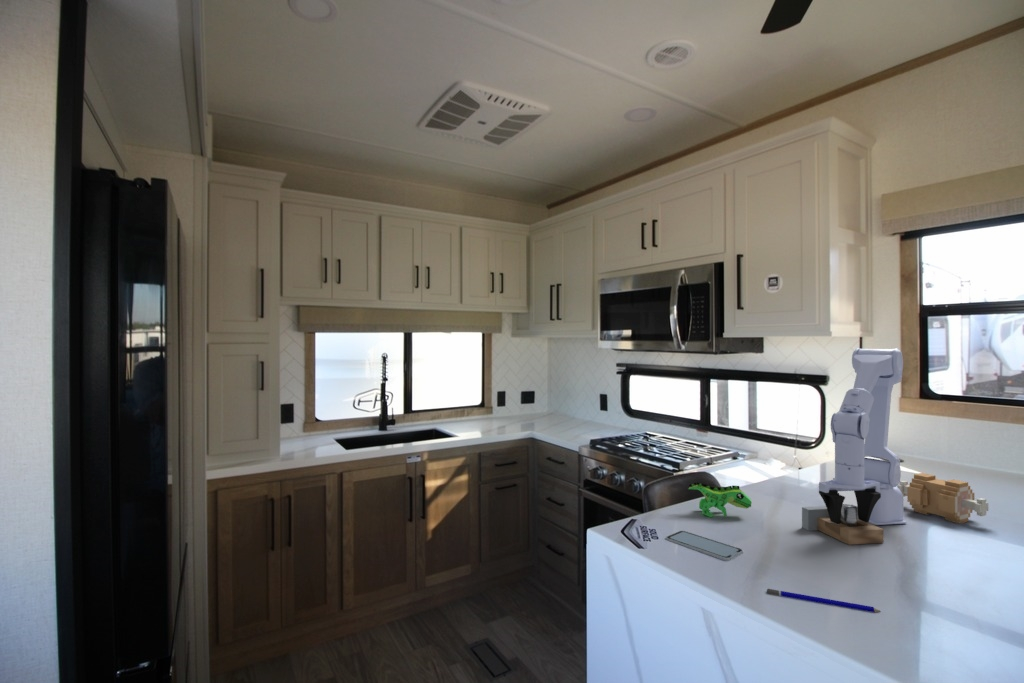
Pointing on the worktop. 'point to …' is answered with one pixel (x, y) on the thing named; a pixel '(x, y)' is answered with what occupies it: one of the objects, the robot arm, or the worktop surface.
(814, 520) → the wall
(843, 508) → the dowel
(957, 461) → the worktop surface
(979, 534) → the worktop surface
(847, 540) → the block
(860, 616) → the worktop surface
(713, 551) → the smartphone
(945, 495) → the voxel meat on bone
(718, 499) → the toy
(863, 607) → the pencil
